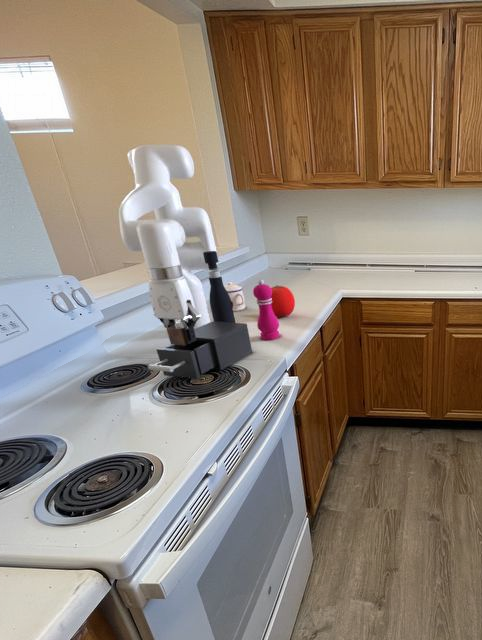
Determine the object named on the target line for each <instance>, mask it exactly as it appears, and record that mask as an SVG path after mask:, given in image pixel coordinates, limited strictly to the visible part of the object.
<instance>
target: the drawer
mask: <svg viewBox="0 0 482 640" xmlns="http://www.w3.org/2000/svg"><path fill="white" fill-rule="evenodd" d="M156 353H157V356H158V359H159V361H158V362H156V363H154V364H153V363H151V364H148V365H147V369H148V370H150V371H158V372H162V373H163V376H166V377H174V378H176V377H175V376H183V377H190V378H189V379H190V380H199V379H201V375H203V374H205V373H207V372H209V371H211V370H210V369H212V368H214V367H216V366H218V364H217V360H216V355H215V351H214V347H213V343H212V341H201V340H196V341H194V342H192V343H190V344H186V345H174V344H171V343H170V344H169V345H167V346H165V347H158V348H156ZM183 377H180V378H181V379H182V378H183ZM192 378H193V379H192ZM183 379H184V378H183Z"/></svg>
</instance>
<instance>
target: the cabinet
mask: <svg viewBox="0 0 482 640" xmlns="http://www.w3.org/2000/svg"><path fill="white" fill-rule="evenodd" d="M194 331H195V335H196V340H201V341H212V343H213V347H214V351H215V355H216V360H217V364H218V366H216V367H214V368H213V369H211V370H213V371H220V372H222V371H223V370H225V369H226V368H228V367H230V366H232V365H233V364H235V363H237V362H239V361H241V360H242V359H244V358H246V357H247V356H249V355H251V354H253V348H252V344H251V339H250V333H249V328H248V324H247V323H244V322H243V323H242V322H235V323H230V322H216V321H214V320H212V321H210V323H208V324H205V325H203V326H201V327H198V328H196V329H194ZM221 366H222V367H221ZM211 370H210V371H211Z"/></svg>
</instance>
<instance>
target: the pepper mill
mask: <svg viewBox="0 0 482 640" xmlns="http://www.w3.org/2000/svg"><path fill="white" fill-rule="evenodd" d="M271 288H272V287H271V286H270V285H268V284H265V281H264V280H263V279H259V280H258V282H257V285H255V286H254V288H253V291H252V293H253V296H254V297H255V298H256V300H255V301H256V305H258V311H259V313H258V318H257V323H256V326H257V329H258V330H259V333H260V335H259V336H260V339H261V340H264V341H271V340H276V339H278V338H279V337H280V331H279V330H278V329H279V328H280V322H279V320H278V319H279V318H278V317H276V316H275V314H274V313H273V310H272V307H271V303H272V298H270V297H271V295H272V290H271Z"/></svg>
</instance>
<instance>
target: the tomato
mask: <svg viewBox="0 0 482 640" xmlns="http://www.w3.org/2000/svg"><path fill="white" fill-rule="evenodd" d="M270 288H271V290H272V295H271V297H270V298H272V303H271V307H272V310H273V313H274V314H275V316H276V317H277V318H283V317H288V316H291V314H292V313H293V312H294V310H295V306H296V305H295V304H296V301H295V296H294V294H293V292H292V291H291V289H289V288H288V287H287V286H284V285H278V284H276V285H275V286H272V287H270Z"/></svg>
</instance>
